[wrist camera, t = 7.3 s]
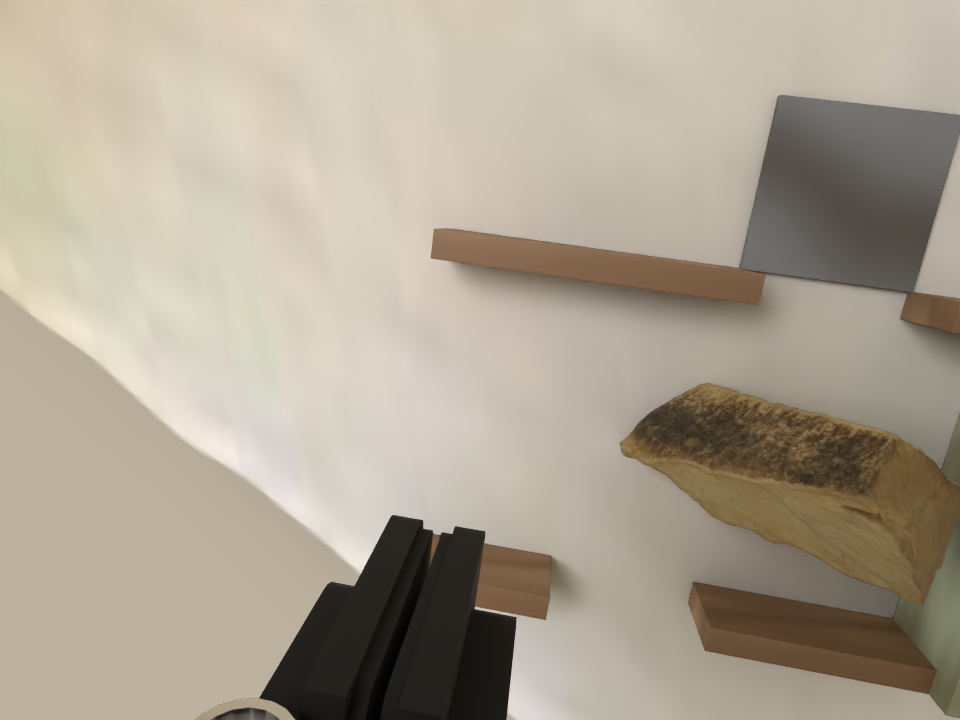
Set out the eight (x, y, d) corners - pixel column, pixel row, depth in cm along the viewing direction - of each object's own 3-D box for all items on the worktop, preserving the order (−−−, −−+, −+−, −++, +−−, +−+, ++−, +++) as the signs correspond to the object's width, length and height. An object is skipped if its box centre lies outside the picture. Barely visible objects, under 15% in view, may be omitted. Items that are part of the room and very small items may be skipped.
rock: (1056, 501, 21) (916, 278, 19) (1085, 754, 16) (894, 485, 14) (760, 527, 29) (638, 373, 27) (714, 699, 24) (557, 525, 22)
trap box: (468, 62, 22) (449, 28, 19) (1085, 131, 21) (1207, 109, 17) (411, 551, 27) (387, 605, 23) (911, 644, 25) (976, 721, 21)
